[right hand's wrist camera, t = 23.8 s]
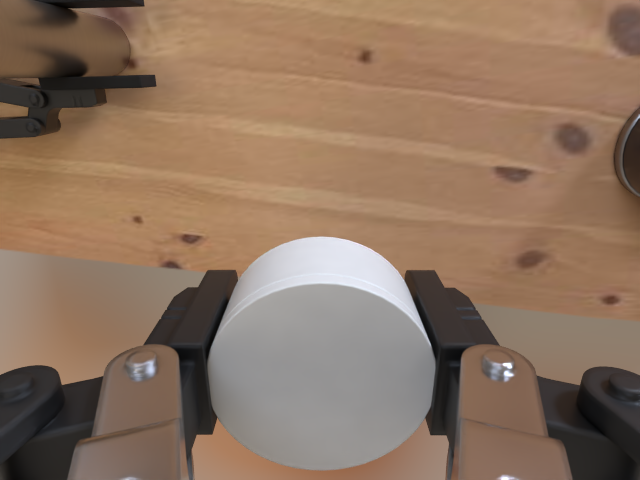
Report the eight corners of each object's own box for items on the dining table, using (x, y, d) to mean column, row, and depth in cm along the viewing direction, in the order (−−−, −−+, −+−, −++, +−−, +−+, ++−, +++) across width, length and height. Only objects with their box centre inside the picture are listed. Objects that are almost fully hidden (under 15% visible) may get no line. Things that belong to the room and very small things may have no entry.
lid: (194, 278, 11) (161, 333, 8) (375, 206, 10) (391, 245, 8) (276, 417, 12) (267, 495, 10) (437, 362, 11) (466, 432, 9)
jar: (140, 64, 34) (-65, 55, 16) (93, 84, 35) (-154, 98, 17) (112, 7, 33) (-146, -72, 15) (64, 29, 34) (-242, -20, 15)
